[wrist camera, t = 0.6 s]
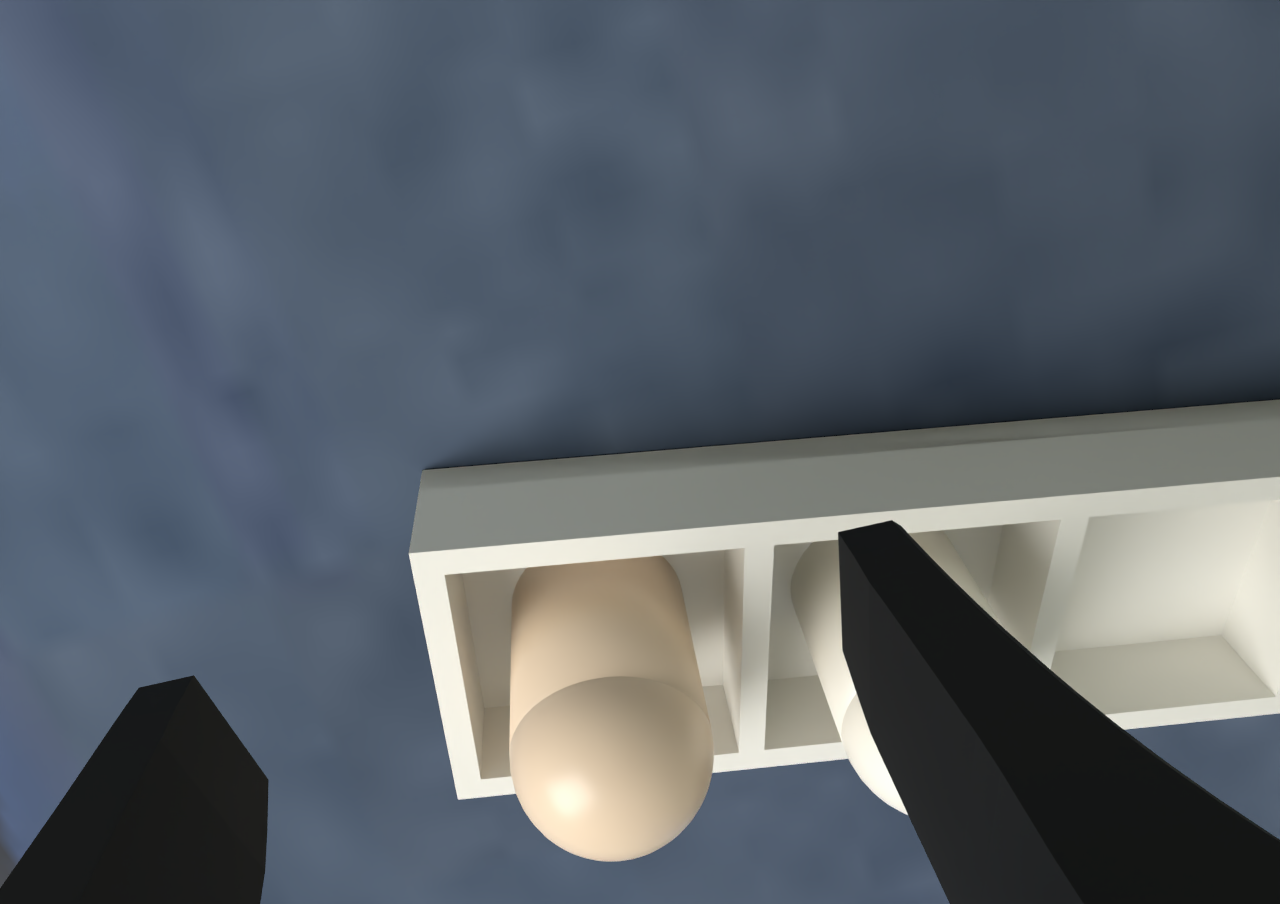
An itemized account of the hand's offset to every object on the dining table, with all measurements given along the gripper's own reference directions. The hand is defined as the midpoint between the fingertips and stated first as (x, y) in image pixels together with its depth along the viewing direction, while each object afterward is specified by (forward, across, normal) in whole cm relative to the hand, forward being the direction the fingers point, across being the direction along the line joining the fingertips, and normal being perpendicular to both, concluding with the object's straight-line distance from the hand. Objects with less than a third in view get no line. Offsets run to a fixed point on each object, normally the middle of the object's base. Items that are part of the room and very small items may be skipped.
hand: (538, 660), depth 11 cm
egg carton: (+9, -7, +9) cm, 15 cm away
